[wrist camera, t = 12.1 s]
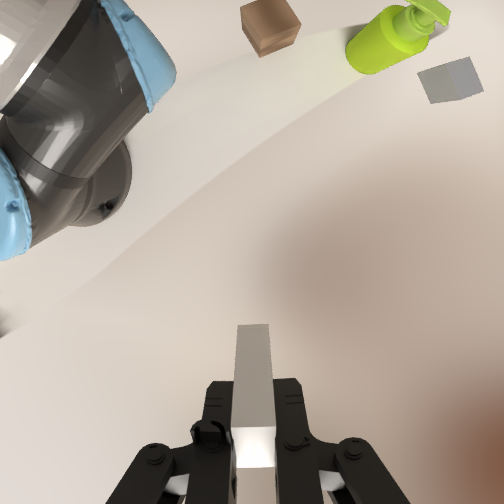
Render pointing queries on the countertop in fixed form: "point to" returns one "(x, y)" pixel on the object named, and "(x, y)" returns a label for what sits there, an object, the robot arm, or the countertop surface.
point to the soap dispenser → (395, 35)
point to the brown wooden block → (269, 25)
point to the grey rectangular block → (451, 81)
